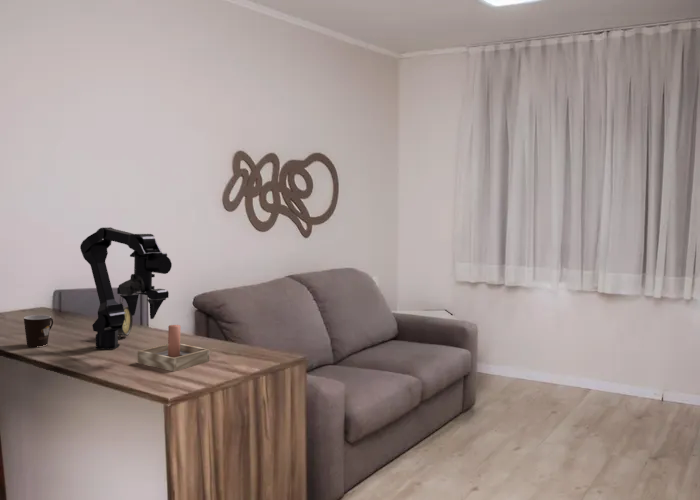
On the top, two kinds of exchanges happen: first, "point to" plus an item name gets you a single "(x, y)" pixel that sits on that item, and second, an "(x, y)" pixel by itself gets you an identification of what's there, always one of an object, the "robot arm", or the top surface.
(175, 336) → the peg
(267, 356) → the top surface
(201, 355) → the box
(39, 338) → the coffee mug
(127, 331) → the alarm clock
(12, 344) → the top surface
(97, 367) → the top surface
